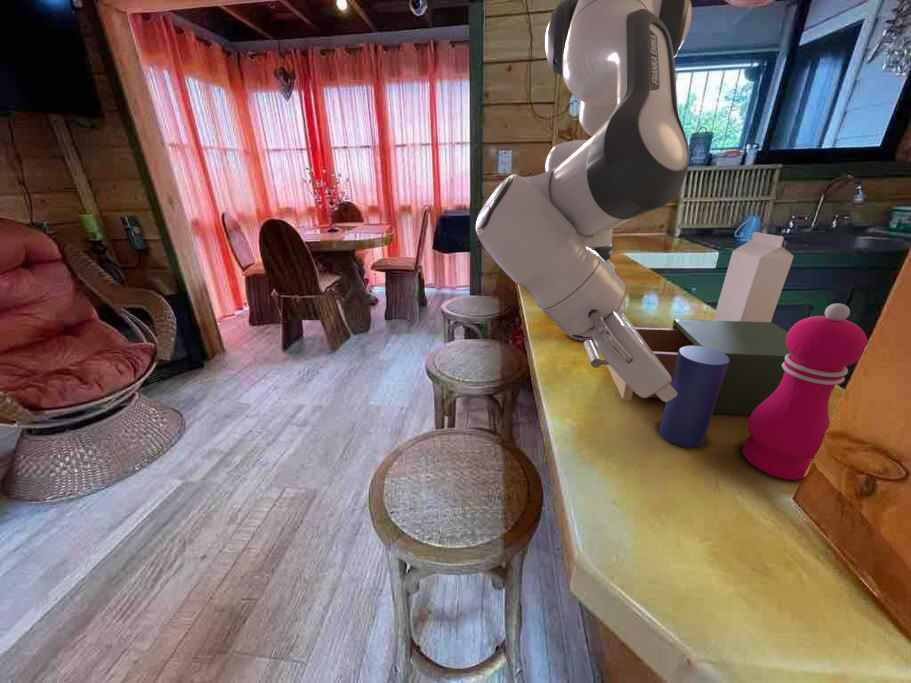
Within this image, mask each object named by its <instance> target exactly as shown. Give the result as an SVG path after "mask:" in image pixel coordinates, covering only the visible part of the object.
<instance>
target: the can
mask: <svg viewBox="0 0 911 683" xmlns="http://www.w3.org/2000/svg"><path fill="white" fill-rule="evenodd" d="M728 364H729V357H728V356H727V355H725V354H724V353H722V352H720V351H717V350H715V349H711V348H707V347H702V346H685V347H682V348H680V349H679V352H678V356H677V360H676V364H675V368H674V372H673V376H672V381H671V385H672V386H673V388H674V389H675V390H676V392H677V396H676V397H674V398H673V399H671V400H669V401H668V402H665V404H664V409H663V412H662V416H661V420H660V425H659V428H658V429H659V430H658V431H659V433H660V435H661V437H663V438H664V439H665V440H666V441H668V442H670V443H672V444H674V445H676V446H678V447H682V448H688V449H689V448H690V449H691V448H692V449H693V448H699V447H701V446H702V445H703V444H704V443H705V440H706V436H707V434H708V430H709V427H710V423H711V420H712V417H713V414H714V413H713V411H714V408H715V405H716V402H717V399H718V395H719V392H720V389H721V386H722V383H723V380H724V377H725V373H726V370H727V367H728Z"/></svg>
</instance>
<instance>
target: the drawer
mask: <svg viewBox="0 0 911 683" xmlns="http://www.w3.org/2000/svg"><path fill="white" fill-rule="evenodd" d="M634 328H635V329H636V330H637V332H638V333H639V334H640V336H641V337H642V338H643V340H644V341H645V342H646V344H647V345H648V346H649V348H650V349H651V350H652V351H653V353H654V354H655V355H656V357H657V358H658V359H659V361H660V362H661V363H662V365H663V366H664V367H665V369H666V370H667V371H668V373H669V374H670V376H671V378H672V376H673V372H674V368H675V364H676V360H677V356H678V352H679V349H680V348H682V347H685V346H695V345H694V344H693V343H692V342H691V341H690V340H689V339H688V338H687V337H686V336H685V335H684V334H683V333H682V332H681V331H680V330H679V329H673V328H672V327H670V328H669V327H667V328H666V327H643V326H642V327H639V326H637V327H636V326H634ZM582 344H583V348H584V350H585V353H586V355H587V359H588V360H589V363H590V366H591V367H592V368H594V369H597V368H600V367H601V366H602V365H603V366H606V367H607V369H608V372H609V373H610V376H611V378H612V380H613V382H614V384H615V386H616V388H617V390H618V392H619V395H620V397H621V399H622V400H623V401H632V398H633V392H634V391H633V390H632V389H631V388H630V387H629V386H628V385H627V384H626V382H625V381H624V380H623V379H622V378H621V377H620V376H619V375H618V374H617V373H616V371H615V370H614V369H613V368H612V367H611V366H610V365H609V363H608V362H607V361H606V360H605V359H601V357H600V355H599V354H600V353H599V351H598V349H597V348H596V346H595V344H594V341H593V340H586V341H583V343H582ZM670 384H671V383H670ZM638 397H640V396H638ZM640 398H641V397H640ZM648 398H658V399H660V398H659V397H658V396H657V395H656V394H655V393H654V394H653V395H651V396H649V397H648Z"/></svg>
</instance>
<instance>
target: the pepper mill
mask: <svg viewBox="0 0 911 683" xmlns="http://www.w3.org/2000/svg"><path fill="white" fill-rule="evenodd" d="M850 314H851V310H850V308H849V306H847V305H846V304H844V303H831V304H830V305H828V306H827V307H826V308H825V311H824V315H815V316H809V317H806V318H803V319H800V320H799V321H796V323H794V324H793V325H792V326H791V328H790V329H789V330H788V331H787V332H788V334H787V337H786V346H787V348H788V350H789V351H790V354H787V355H786V356H785V362H783V364H782V368H783V369H784V370H785V372H784V376H783V379H782V381H781V382H780V384H779V386H778V388H777V389H776V390H775V391H774V392H773V393H772V394H771V395H770V396H769V397H768V398H767V399H765V400H764V401H763V402H762V403H761V404H759V405H758V406H757V407H756V408H755V410H754V411H753V412H752V414H751V415H749V418H748V419H747V423H746V428H747V431H748V433H749V435H748V436H747V437H746V440H745V442H744V444H743V446H742V447H743V448H742V454H743V456H744V457H745V459H746V460H747V461H748V462H749V463H750V464H751V465H752V466H753V467H755V468H757V469H758V470H759V471H762V472H764V473H765V474H768V475H771V476H773V477H776V478H778V479H779V478H780V479H783V480H784V479H785V480H790V481H791V480H792V481H796V480H797V481H798V480H803V479H804V478H803V476H804V474H805V471H806V470H807V468H808V466H809V464H810V462H811V460H812V459H815V458H814V456H815V454H816V453H817V451H818V450H819V448H820V446H821V444H822V441H823V438H824V435H825V432H826V430H827V429H828V427H829V424H830V425H831V421H830V416H829V415H830V414H829V405H830V404H829V402H830V398H831V395H832V392H833V390H834V388H835V387H836V385H840V384H842V383H844V382H845V379H846V378H845V376H847V375H848V373H849V370H848V367H849V366H850V365H852V364H853V365H854V364H855V363H857V362H859V361H860V360H859V358H860V356H861V354H862V352H863V349H864V347H865V346H866V343H867V344H868V338H867V335H866V333H865V331H864V330H863V329H862V328H861V327H860V326H859V325H858V324H856V323H854V322H852V321H849V320H847V318H848V317H849V316H850Z"/></svg>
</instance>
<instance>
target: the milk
mask: <svg viewBox="0 0 911 683" xmlns="http://www.w3.org/2000/svg"><path fill="white" fill-rule="evenodd" d="M784 239H785V238H784V236H781V235H776V234H770V233H766V232H765V233H764V232H759V231H754V232H752V234H751V238H750V240H749V241H747V242H746V243H743V244H742V245H740V246H739V247H736V248H735V249H734V250H732V252H731V256H730V260H729V263H728V267H727V270H726V274H725V277H724V281H723V284H722V288H721V291H720V295H719V298H718V301H717V305H716V309H715V311H714V312H715V313H714V316H713V319H712V321H745V322H772V320H773V317H774V313H775V311H776V308H777V305H778V303H779V300H780V296H781V293H782V291H783V289H784V285H785V282H786V280H787V277H788V274H789V272H790V268H791V266H792V262H793V259H794V255H793V254H792V253H791V252H789V250H787V249H785V248H784V247H783V246H782V245H783V243H784Z"/></svg>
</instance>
